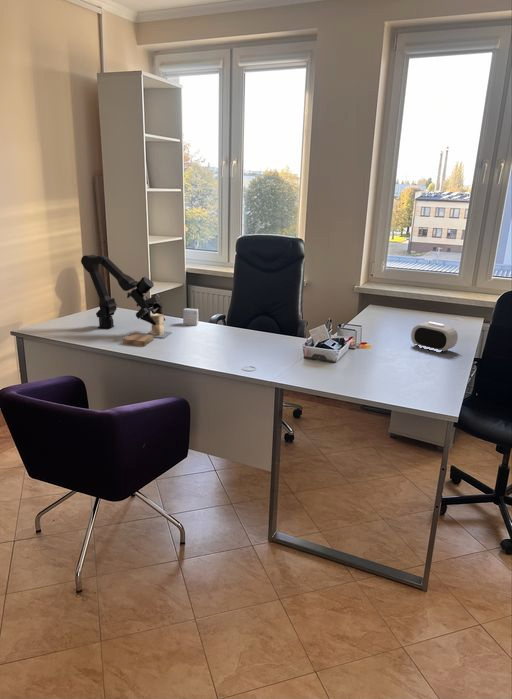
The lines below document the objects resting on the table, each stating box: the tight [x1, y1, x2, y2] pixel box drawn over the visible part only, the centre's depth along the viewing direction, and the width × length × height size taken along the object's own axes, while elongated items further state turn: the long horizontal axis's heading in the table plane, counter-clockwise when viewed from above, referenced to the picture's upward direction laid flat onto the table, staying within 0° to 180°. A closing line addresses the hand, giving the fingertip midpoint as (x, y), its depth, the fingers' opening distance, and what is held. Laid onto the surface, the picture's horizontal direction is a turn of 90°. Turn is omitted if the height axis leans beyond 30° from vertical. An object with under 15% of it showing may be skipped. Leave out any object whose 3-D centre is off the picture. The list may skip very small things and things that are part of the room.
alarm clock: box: [410, 321, 458, 352], centre depth 256 cm, size 21×10×13 cm, turn 47°
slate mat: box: [145, 329, 173, 340], centre depth 260 cm, size 11×11×1 cm
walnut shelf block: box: [122, 332, 154, 347], centre depth 246 cm, size 11×11×2 cm
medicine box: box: [182, 307, 199, 327], centre depth 282 cm, size 8×4×9 cm, turn 84°
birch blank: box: [151, 314, 165, 335], centre depth 258 cm, size 4×4×10 cm
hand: (160, 322), depth 258 cm, fingers open, 9 cm apart
